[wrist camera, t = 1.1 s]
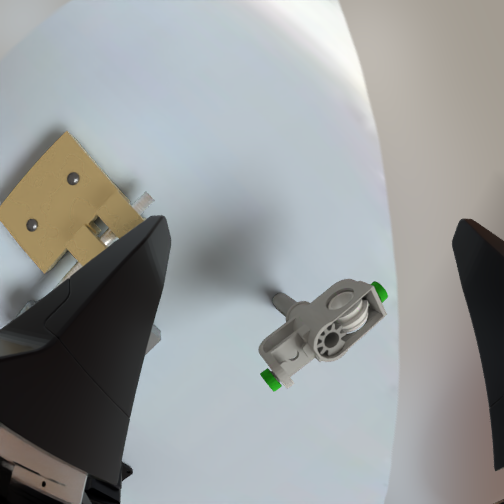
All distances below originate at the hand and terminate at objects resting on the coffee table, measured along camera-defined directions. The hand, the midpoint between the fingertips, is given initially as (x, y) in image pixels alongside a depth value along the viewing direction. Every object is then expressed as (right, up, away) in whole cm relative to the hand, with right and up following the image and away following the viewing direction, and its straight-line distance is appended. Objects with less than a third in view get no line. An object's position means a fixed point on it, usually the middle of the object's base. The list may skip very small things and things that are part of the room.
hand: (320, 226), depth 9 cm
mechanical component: (+1, -5, +21) cm, 22 cm away
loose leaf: (-17, +2, +15) cm, 22 cm away
